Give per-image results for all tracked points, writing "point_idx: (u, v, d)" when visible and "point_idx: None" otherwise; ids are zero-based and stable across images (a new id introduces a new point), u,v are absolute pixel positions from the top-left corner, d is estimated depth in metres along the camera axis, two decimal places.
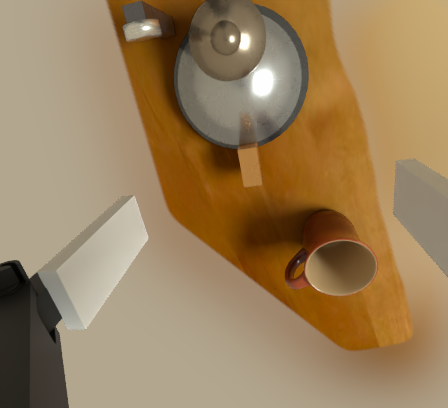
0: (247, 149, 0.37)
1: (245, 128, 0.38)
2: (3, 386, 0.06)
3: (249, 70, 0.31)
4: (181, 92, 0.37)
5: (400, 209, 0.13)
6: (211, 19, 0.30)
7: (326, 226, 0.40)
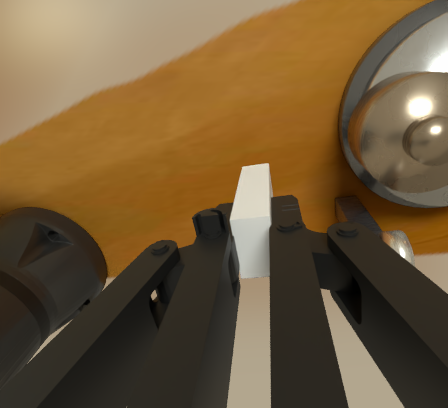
0: None
1: None
2: (186, 331, 0.07)
3: None
4: None
5: None
6: (392, 159, 0.20)
7: None
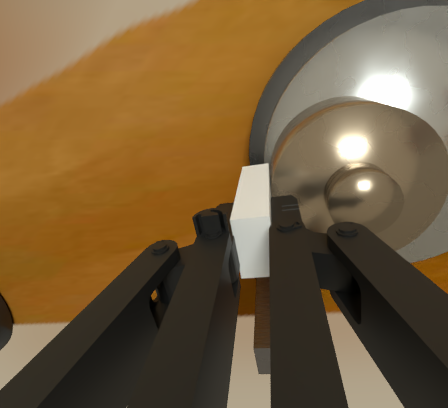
0: None
1: None
2: (186, 332, 0.07)
3: (437, 144, 0.13)
4: None
5: None
6: (313, 218, 0.15)
7: None
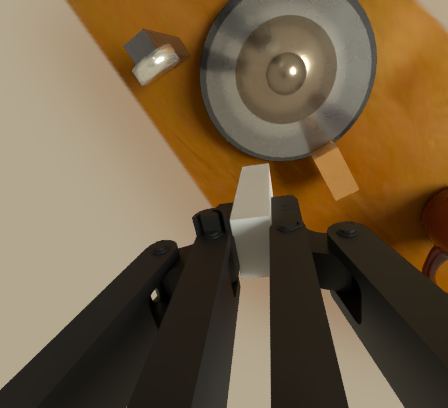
0: (326, 154, 0.28)
1: (312, 129, 0.29)
2: (186, 332, 0.07)
3: (324, 97, 0.24)
4: (220, 118, 0.30)
5: None
6: (259, 58, 0.23)
7: None
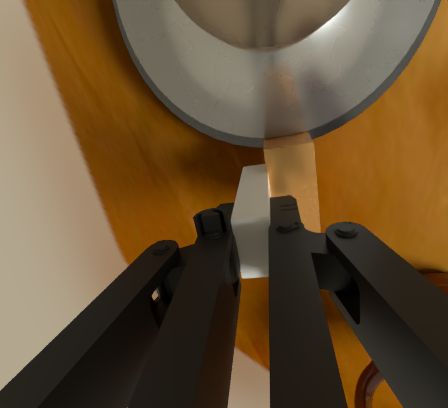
0: (289, 148, 0.14)
1: (281, 97, 0.16)
2: (187, 331, 0.07)
3: (329, 12, 0.10)
4: (123, 4, 0.15)
5: None
6: None
7: None
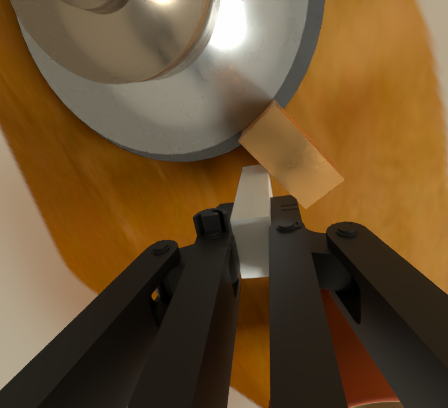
0: (258, 124, 0.14)
1: (230, 87, 0.16)
2: (187, 332, 0.07)
3: None
4: (75, 108, 0.17)
5: None
6: None
7: None
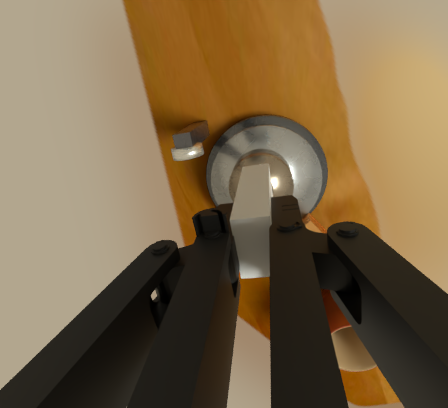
0: None
1: None
2: (186, 332, 0.07)
3: None
4: None
5: None
6: None
7: None
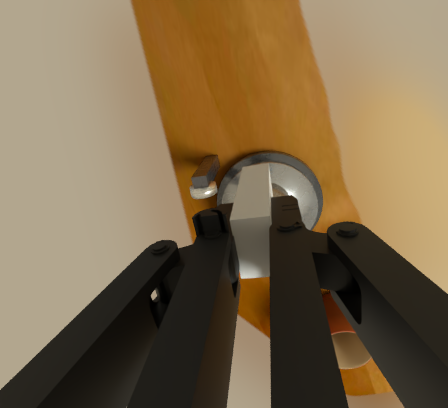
0: None
1: None
2: (186, 331, 0.07)
3: None
4: None
5: None
6: None
7: (334, 312, 0.50)
